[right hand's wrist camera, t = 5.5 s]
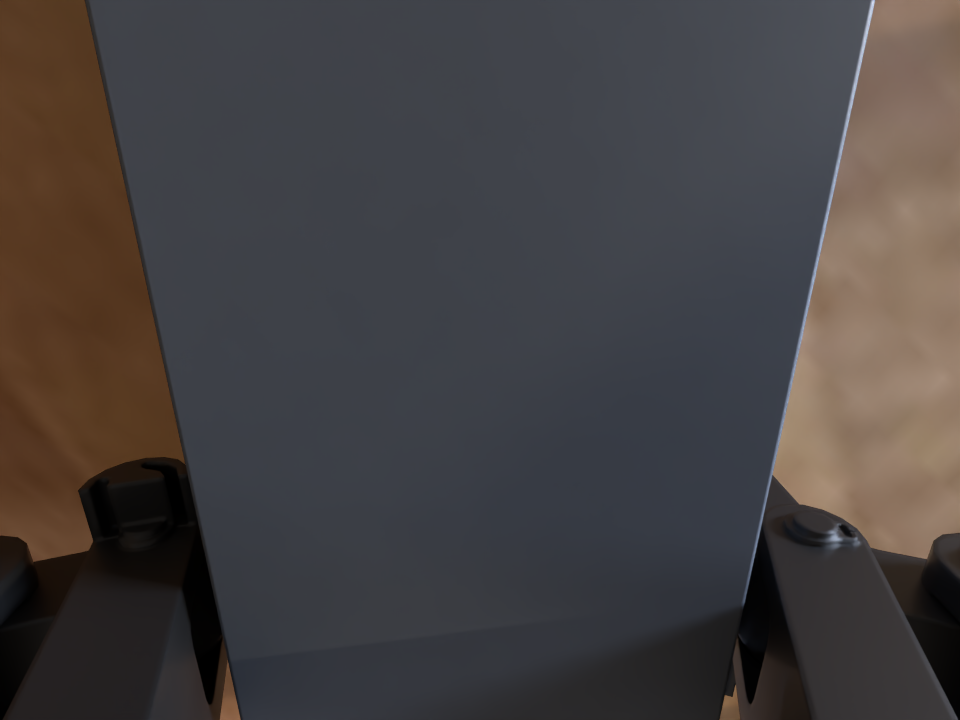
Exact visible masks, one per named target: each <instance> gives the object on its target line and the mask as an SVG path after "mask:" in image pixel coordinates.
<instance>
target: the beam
mask: <svg viewBox="0 0 960 720" xmlns="http://www.w3.org/2000/svg"><path fill="white" fill-rule="evenodd" d="M874 2H875V0H85V3H86V8H87V12H88V17H89V21H90V26H91V31H92V35H93V40H94V44H95V49H96V54H97V58H98V63H99V68H100V72H101V77H102V81H103V86H104V91H105V95H106V100H107V104H108V109H109V114H110V118H111V123H112V128H113V132H114V137H115V141H116V146H117V151H118V155H119V160H120V164H121V169H122V174H123V178H124V183H125V188H126V192H127V197H128V201H129V206H130V211H131V215H132V220H133V224H134V229H135V234H136V238H137V243H138V248H139V252H140V257H141V261H142V266H143V271H144V275H145V280H146V284H147V289H148V294H149V298H150V303H151V307H152V312H153V317H154V321H155V326H156V331H157V335H158V340H159V344H160V349H161V354H162V358H163V363H164V367H165V372H166V377H167V381H168V386H169V391H170V395H171V400H172V404H173V409H174V414H175V418H176V423H177V427H178V432H179V437H180V441H181V446H182V451H183V455H184V460H185V464H186V469H187V474H188V478H189V483H190V487H191V492H192V497H193V501H194V506H195V511H196V515H197V520H198V524H199V529H200V534H201V538H202V543H203V547H204V552H205V557H206V561H207V566H208V571H209V575H210V580H211V584H212V589H213V594H214V598H215V603H216V607H217V612H218V617H219V621H220V626H221V631H222V635H223V640H224V644H225V649H226V654H227V658H228V663H229V667H230V672H231V677H232V681H233V686H234V691H235V695H236V700H237V704H238V709H239V714H240V718H241V720H719V719H720V714H721V710H722V705H723V700H724V696H725V691H726V686H727V682H728V677H729V673H730V668H731V663H732V659H733V654H734V649H735V645H736V640H737V636H738V631H739V626H740V622H741V617H742V612H743V608H744V603H745V599H746V594H747V589H748V585H749V580H750V576H751V571H752V566H753V562H754V557H755V552H756V548H757V543H758V539H759V534H760V529H761V525H762V520H763V515H764V511H765V506H766V502H767V497H768V492H769V488H770V483H771V478H772V474H773V469H774V465H775V460H776V455H777V451H778V446H779V441H780V437H781V432H782V428H783V423H784V418H785V414H786V409H787V404H788V400H789V395H790V391H791V386H792V381H793V377H794V372H795V368H796V363H797V358H798V354H799V349H800V344H801V340H802V335H803V331H804V326H805V321H806V317H807V312H808V307H809V303H810V298H811V294H812V289H813V284H814V280H815V275H816V270H817V266H818V261H819V257H820V252H821V247H822V243H823V238H824V233H825V229H826V224H827V220H828V215H829V210H830V206H831V201H832V196H833V192H834V187H835V183H836V178H837V173H838V169H839V164H840V160H841V155H842V150H843V146H844V141H845V136H846V132H847V127H848V123H849V118H850V113H851V109H852V104H853V99H854V95H855V90H856V86H857V81H858V76H859V72H860V67H861V62H862V58H863V53H864V49H865V44H866V39H867V35H868V30H869V25H870V21H871V16H872V12H873V7H874Z"/></svg>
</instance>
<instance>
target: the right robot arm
mask: <svg viewBox="0 0 960 720" xmlns="http://www.w3.org/2000/svg"><path fill="white" fill-rule="evenodd" d="M78 492H79V495H80V498H81V502H82V505H83V508H84V512H85V515H86V518H87V522H88V525H89V528H90V531H91V535H92V538H93V543H92V545H91V547H90V549H89V551H85V552H81V553H76V554H71V555H66V556H61V557H56V558H51V559H46V560H41V561H36V562H33V560H32V557H31V554H30V551H29V548H28V546H27V543H25V542H24V541H23V540H21V539H20V538H18V537H10V536H0V720H220V713H221V706H222V698H223V690H224V682H225V674H226V667H227V654H226V649H225V644H224V640H223V635H222V631H221V626H220V621H219V617H218V612H217V607H216V603H215V598H214V594H213V589H212V584H211V580H210V575H209V571H208V566H207V561H206V557H205V552H204V547H203V543H202V538H201V534H200V529H199V524H198V520H197V515H196V511H195V506H194V501H193V497H192V492H191V487H190V483H189V478H188V474H187V469H186V465H185V464H184V463H182V462H181V461H179V460H177V459H172V458H166V457H158V458H144V459H139V460H135V461H130V462H126V463H123V464H120V465H118V466H115V467H112V468H110V469H107V470H105V471H103V472H101V473H100V474H98V475H96V476H94V477H93V478H91V479H89V480H88V481H87V482H86V483H85V484H84V485H83V486H82V487H81V488H80V489H79V490H78ZM735 685H736V689H737V696H738V704H739V712H740V720H960V533H955V534H944V535H941V536H940V537H938V538H937V539H935V540H934V541H933V544H932V547H931V550H930V553H929V555H928V558H927V559H922V558H917V557H912V556H907V555H901V554H896V553H891V552H886V551H881V550H877V549H873V548H870V546H869V544H868V542H867V540H866V539H865V538H864V537H863V536H862V534H861V533H860V532H859V531H858V529H857V528H855V527H854V526H852V525H851V524H849V523H848V522H846V521H845V520H843V519H842V518H840V517H838V516H836V515H833V514H831V513H829V512H826V511H824V510H821V509H818V508H814V507H810V506H806V505H799V504H798V503H797V502H796V500H795V499H794V498H793V497H792V496H791V495H790V494H789V493H788V492H787V491H786V489H785V488H784V487H783V486H782V485H781V484H780V483H779V482H778V481H777V479H776V478H775V477H774V476H773V475H772V478H771V483H770V488H769V492H768V497H767V502H766V506H765V511H764V515H763V520H762V525H761V529H760V534H759V539H758V543H757V548H756V552H755V557H754V562H753V566H752V571H751V576H750V580H749V585H748V589H747V594H746V599H745V603H744V608H743V612H742V617H741V622H740V626H739V631H738V636H737V640H736V645H735V649H734V654H733V659H732V663H731V668H730V673H729V677H728V682H727V686H726V691H725V695H727V696H731V697H733V692H734V688H735Z"/></svg>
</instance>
